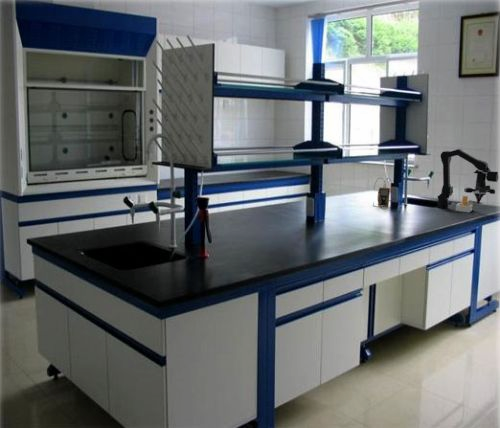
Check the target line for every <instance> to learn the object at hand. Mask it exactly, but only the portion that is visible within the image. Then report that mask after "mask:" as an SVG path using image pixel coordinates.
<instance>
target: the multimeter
mask: <svg viewBox="0 0 500 428" xmlns="http://www.w3.org/2000/svg"><path fill="white" fill-rule="evenodd" d="M379 179H380V177H378V178H377V179H376V181H375V184H374V186H373V189H375V188H376V187H375V186H376V183H377V182H378V180H379ZM381 179H382V180H383V183H384V186H383V187H382V186H381V187H378V191H377V192H378V193H377V206H376V205H375V203H373V205H372V206H374V207H376V208H378V207H379V208H382V207H385V208H389V207H390V206H389V205H390V198H393V196H392V194H391V190H392V188H393V186H391V187H387V183H386V181H387V179H388V178H386V179H385V180H384V178H383V177H381ZM389 180H390V182H391V183H393V182H392V180H391V178H389ZM390 195H391V197H390Z"/></svg>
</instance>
